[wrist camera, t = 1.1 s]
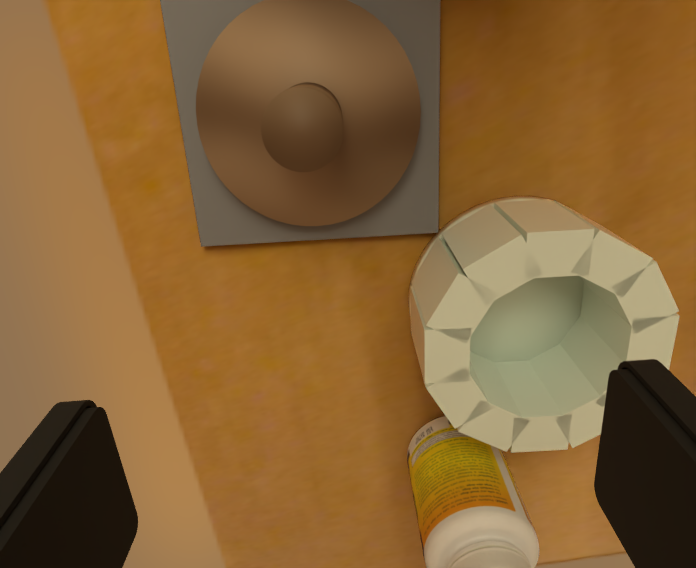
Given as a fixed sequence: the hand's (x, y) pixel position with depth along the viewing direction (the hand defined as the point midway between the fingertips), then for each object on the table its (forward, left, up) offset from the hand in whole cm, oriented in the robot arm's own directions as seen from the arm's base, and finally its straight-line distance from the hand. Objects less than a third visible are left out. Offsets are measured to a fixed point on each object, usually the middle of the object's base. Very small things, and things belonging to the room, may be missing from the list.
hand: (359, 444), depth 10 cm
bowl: (+6, +9, -19) cm, 21 cm away
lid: (-4, -1, -18) cm, 19 cm away
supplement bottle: (+16, +6, -19) cm, 25 cm away
